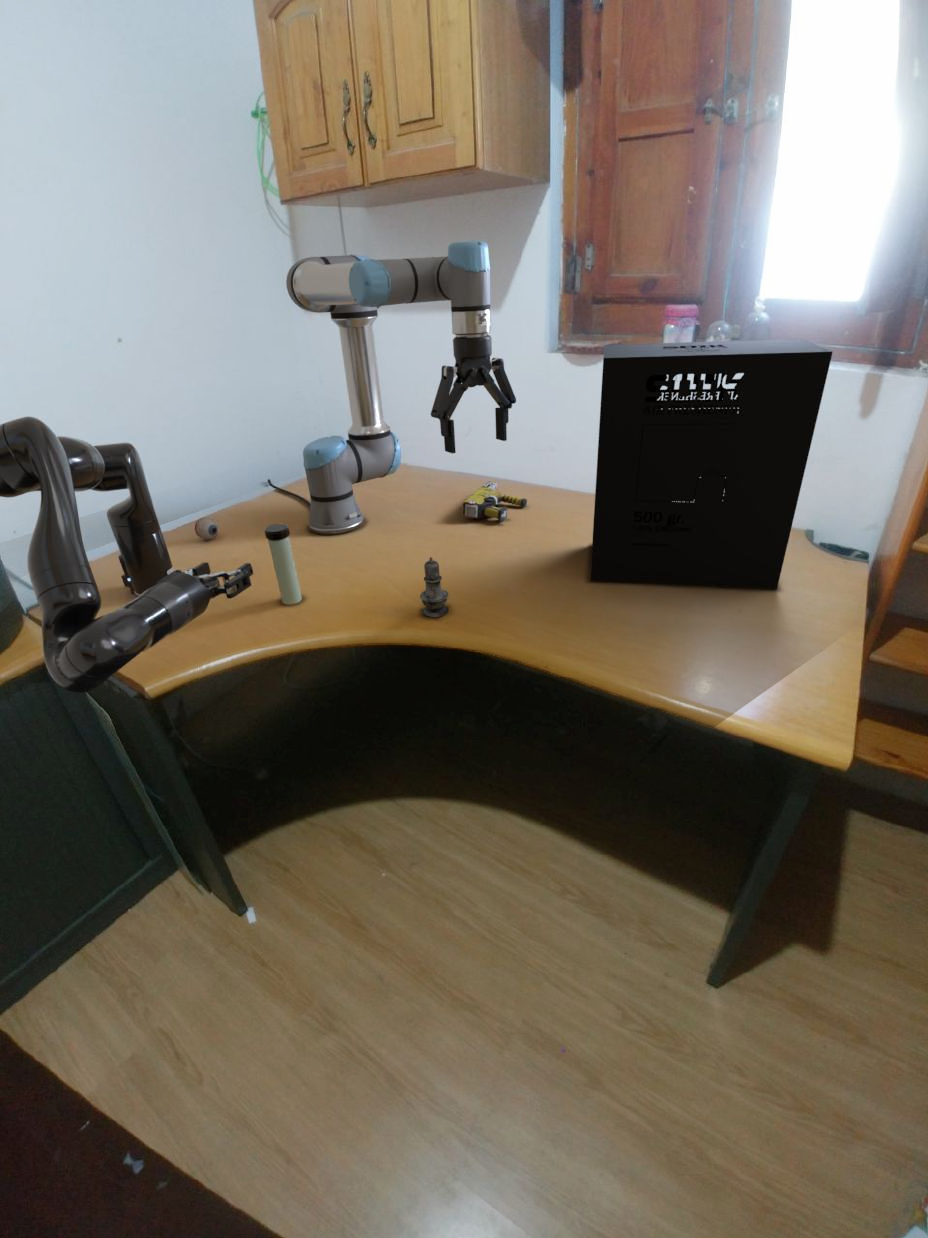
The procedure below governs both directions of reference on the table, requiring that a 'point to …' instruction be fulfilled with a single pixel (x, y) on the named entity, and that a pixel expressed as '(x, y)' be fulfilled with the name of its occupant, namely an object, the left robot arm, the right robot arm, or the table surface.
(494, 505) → the toy gun
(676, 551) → the cardboard box
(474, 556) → the table surface
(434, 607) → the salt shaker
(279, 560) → the bottle
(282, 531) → the lid
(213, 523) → the eyeball
